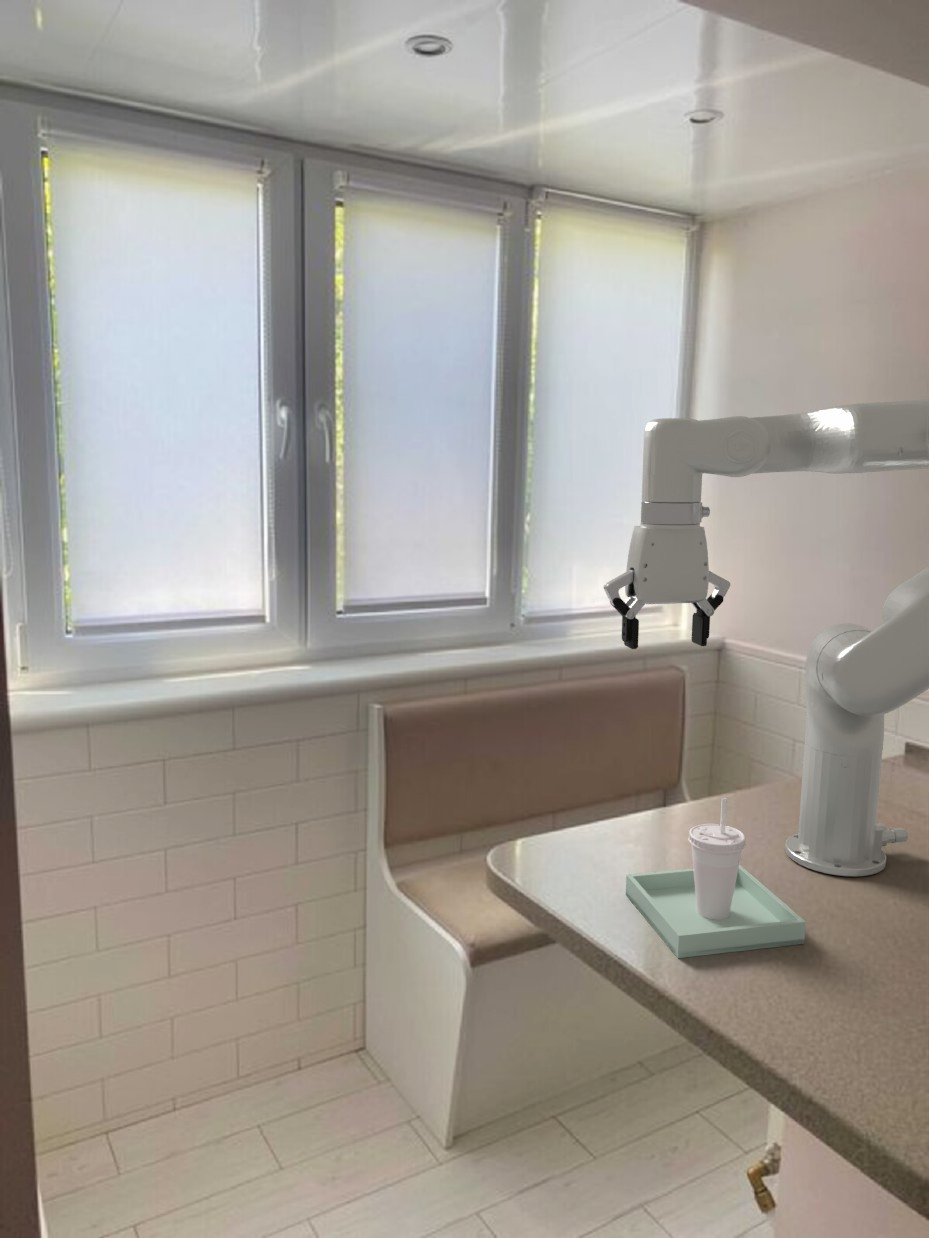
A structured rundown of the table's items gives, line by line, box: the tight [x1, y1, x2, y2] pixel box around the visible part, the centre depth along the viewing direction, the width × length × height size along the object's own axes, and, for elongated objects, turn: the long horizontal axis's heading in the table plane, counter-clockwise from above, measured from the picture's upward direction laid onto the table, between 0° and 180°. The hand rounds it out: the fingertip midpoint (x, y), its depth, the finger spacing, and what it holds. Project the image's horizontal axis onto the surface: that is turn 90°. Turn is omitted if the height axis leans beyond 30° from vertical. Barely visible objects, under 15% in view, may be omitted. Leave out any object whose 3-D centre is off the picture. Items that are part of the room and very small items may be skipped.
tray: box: [625, 863, 807, 959], centre depth 109 cm, size 15×15×3 cm
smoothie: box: [687, 797, 747, 920], centre depth 108 cm, size 6×6×14 cm
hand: (665, 645), depth 123 cm, fingers open, 9 cm apart
